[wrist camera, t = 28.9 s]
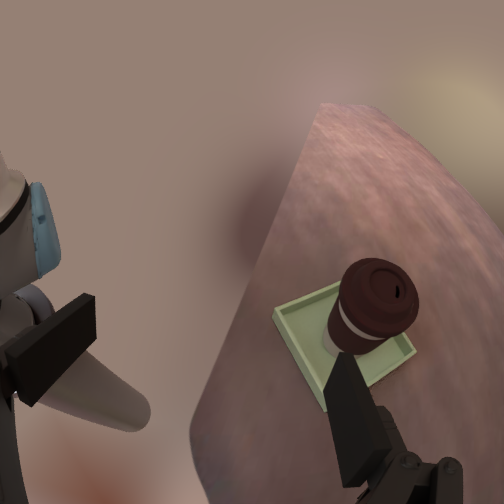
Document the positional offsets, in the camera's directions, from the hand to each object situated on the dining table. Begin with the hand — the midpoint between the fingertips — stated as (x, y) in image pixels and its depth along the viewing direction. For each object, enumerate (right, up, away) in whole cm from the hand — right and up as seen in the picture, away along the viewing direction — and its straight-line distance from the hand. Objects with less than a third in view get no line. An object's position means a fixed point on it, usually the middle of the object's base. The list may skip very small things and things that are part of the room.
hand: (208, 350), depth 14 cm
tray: (+16, -8, +27) cm, 32 cm away
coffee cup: (+16, -8, +26) cm, 32 cm away
